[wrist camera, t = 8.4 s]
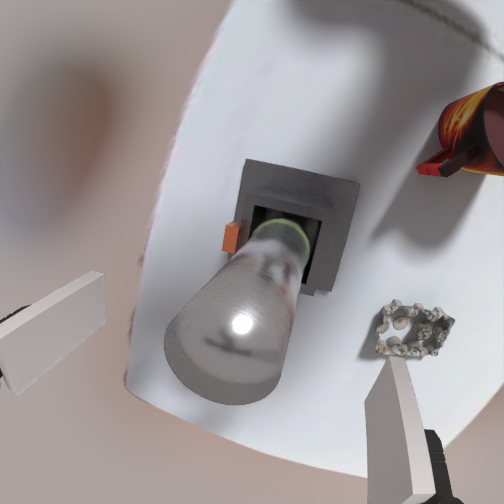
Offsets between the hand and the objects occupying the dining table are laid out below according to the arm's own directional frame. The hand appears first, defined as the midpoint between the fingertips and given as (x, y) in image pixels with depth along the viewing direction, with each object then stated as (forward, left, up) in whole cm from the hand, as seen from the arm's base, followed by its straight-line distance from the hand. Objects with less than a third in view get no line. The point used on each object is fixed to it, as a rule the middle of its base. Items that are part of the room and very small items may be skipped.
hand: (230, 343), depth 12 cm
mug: (-15, +20, -28) cm, 37 cm away
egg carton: (+10, +20, -28) cm, 35 cm away
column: (+1, 0, -19) cm, 19 cm away
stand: (0, 0, -27) cm, 27 cm away
